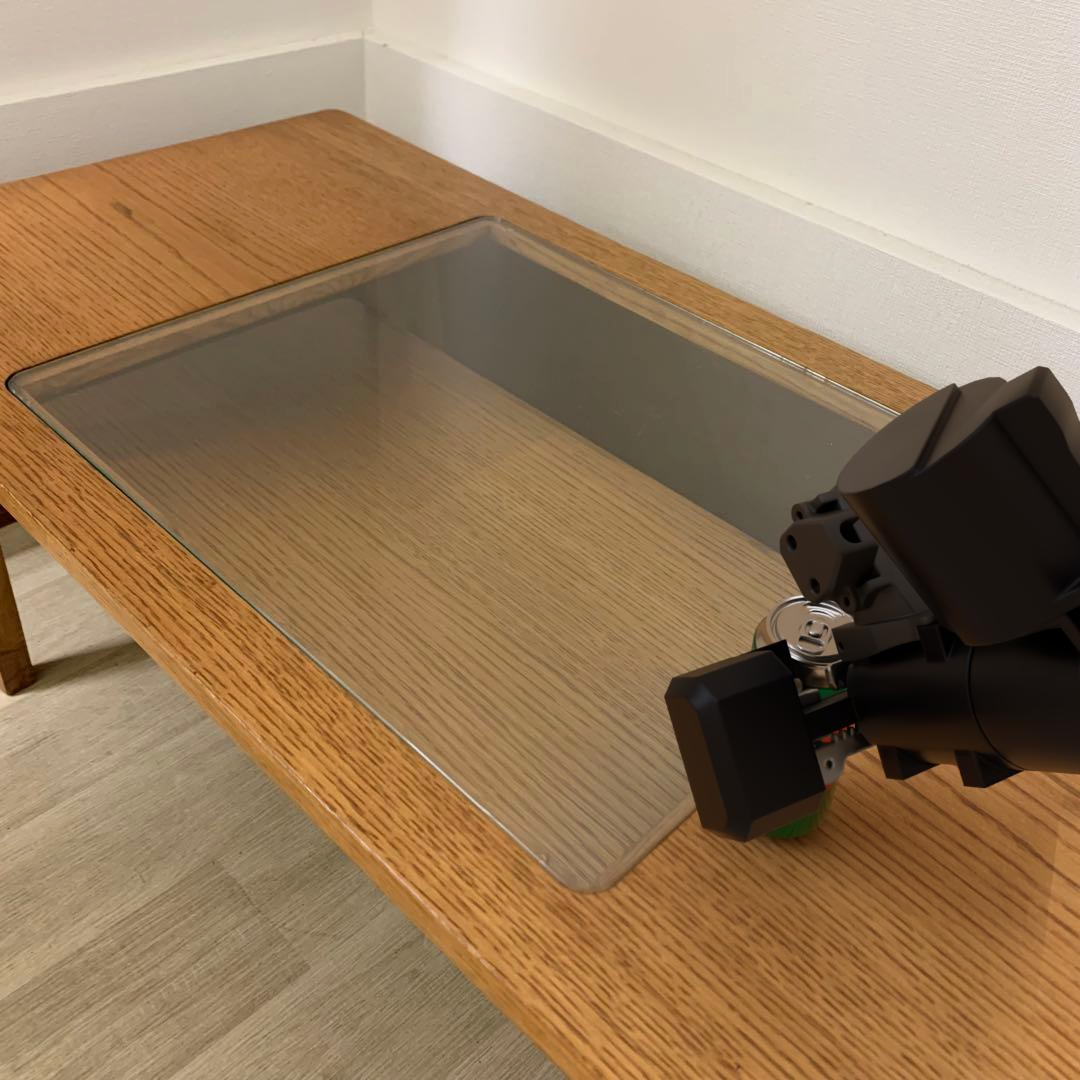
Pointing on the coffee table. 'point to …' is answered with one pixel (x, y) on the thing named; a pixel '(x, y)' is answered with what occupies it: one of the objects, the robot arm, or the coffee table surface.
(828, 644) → the soda can
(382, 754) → the coffee table surface
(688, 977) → the coffee table surface
